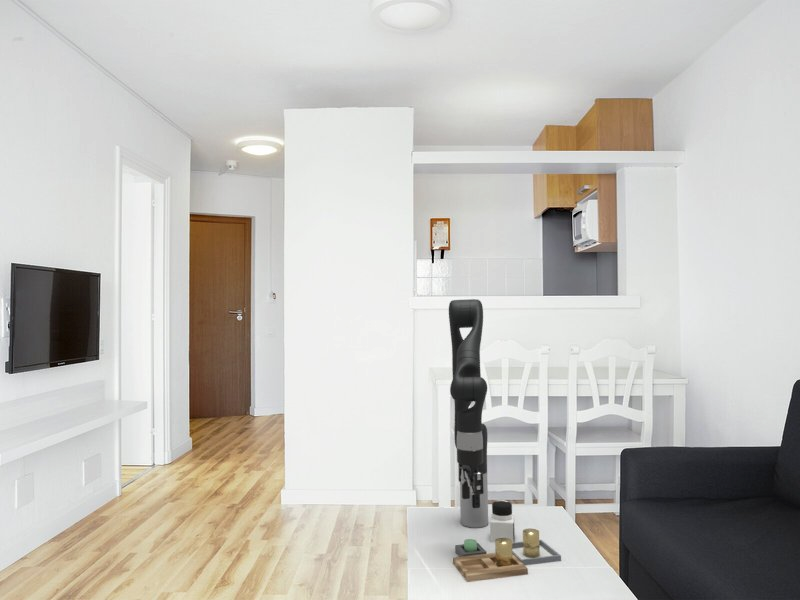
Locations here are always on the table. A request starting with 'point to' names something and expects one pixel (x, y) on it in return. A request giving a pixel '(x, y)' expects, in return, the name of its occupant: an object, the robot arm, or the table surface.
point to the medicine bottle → (502, 521)
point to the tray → (538, 560)
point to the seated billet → (503, 552)
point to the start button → (470, 545)
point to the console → (460, 552)
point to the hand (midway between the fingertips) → (470, 503)
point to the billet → (531, 543)
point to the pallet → (487, 567)
